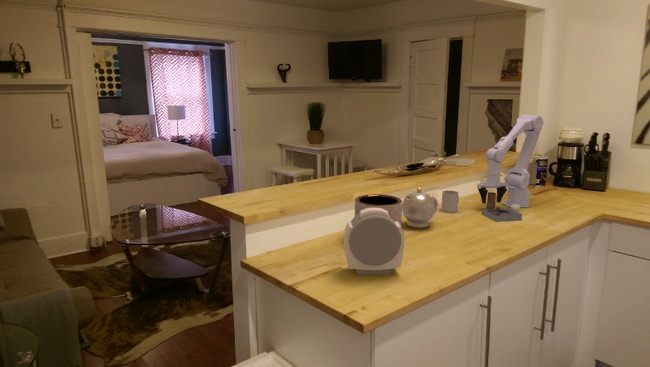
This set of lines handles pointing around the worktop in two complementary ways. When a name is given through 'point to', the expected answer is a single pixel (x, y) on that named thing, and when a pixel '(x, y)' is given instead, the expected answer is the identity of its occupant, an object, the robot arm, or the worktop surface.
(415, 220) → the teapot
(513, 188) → the robot arm
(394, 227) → the alarm clock
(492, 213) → the collar plate
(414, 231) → the worktop surface
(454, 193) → the cup
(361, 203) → the planter
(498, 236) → the worktop surface
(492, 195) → the walnut dowel
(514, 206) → the pale cream cylinder
